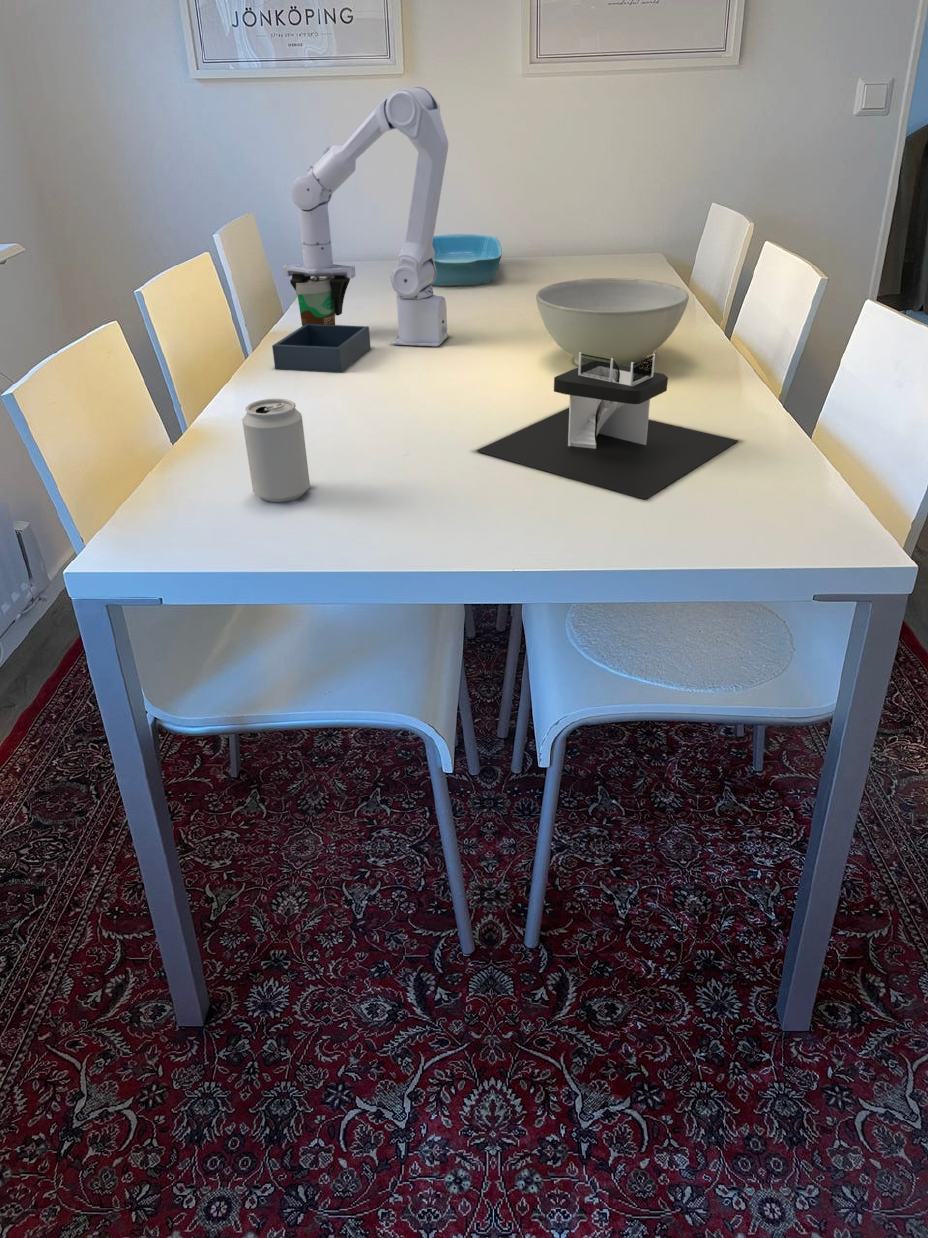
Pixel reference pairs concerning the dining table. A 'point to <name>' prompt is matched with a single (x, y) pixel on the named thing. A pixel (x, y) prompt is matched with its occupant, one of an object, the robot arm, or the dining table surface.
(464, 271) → the casserole dish
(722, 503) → the dining table surface
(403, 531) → the dining table surface
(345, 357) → the tote
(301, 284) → the food container
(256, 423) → the can
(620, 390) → the black-topped pedestal
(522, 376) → the dining table surface
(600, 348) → the decorative bowl
